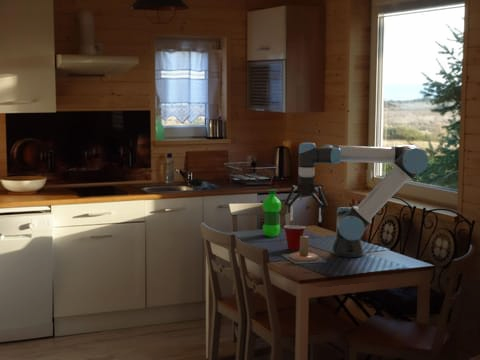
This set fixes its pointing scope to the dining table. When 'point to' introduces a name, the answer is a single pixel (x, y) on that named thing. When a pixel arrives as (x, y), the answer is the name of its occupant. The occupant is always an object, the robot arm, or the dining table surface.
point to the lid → (304, 251)
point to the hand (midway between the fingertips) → (305, 220)
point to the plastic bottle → (271, 214)
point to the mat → (303, 261)
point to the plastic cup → (294, 236)
